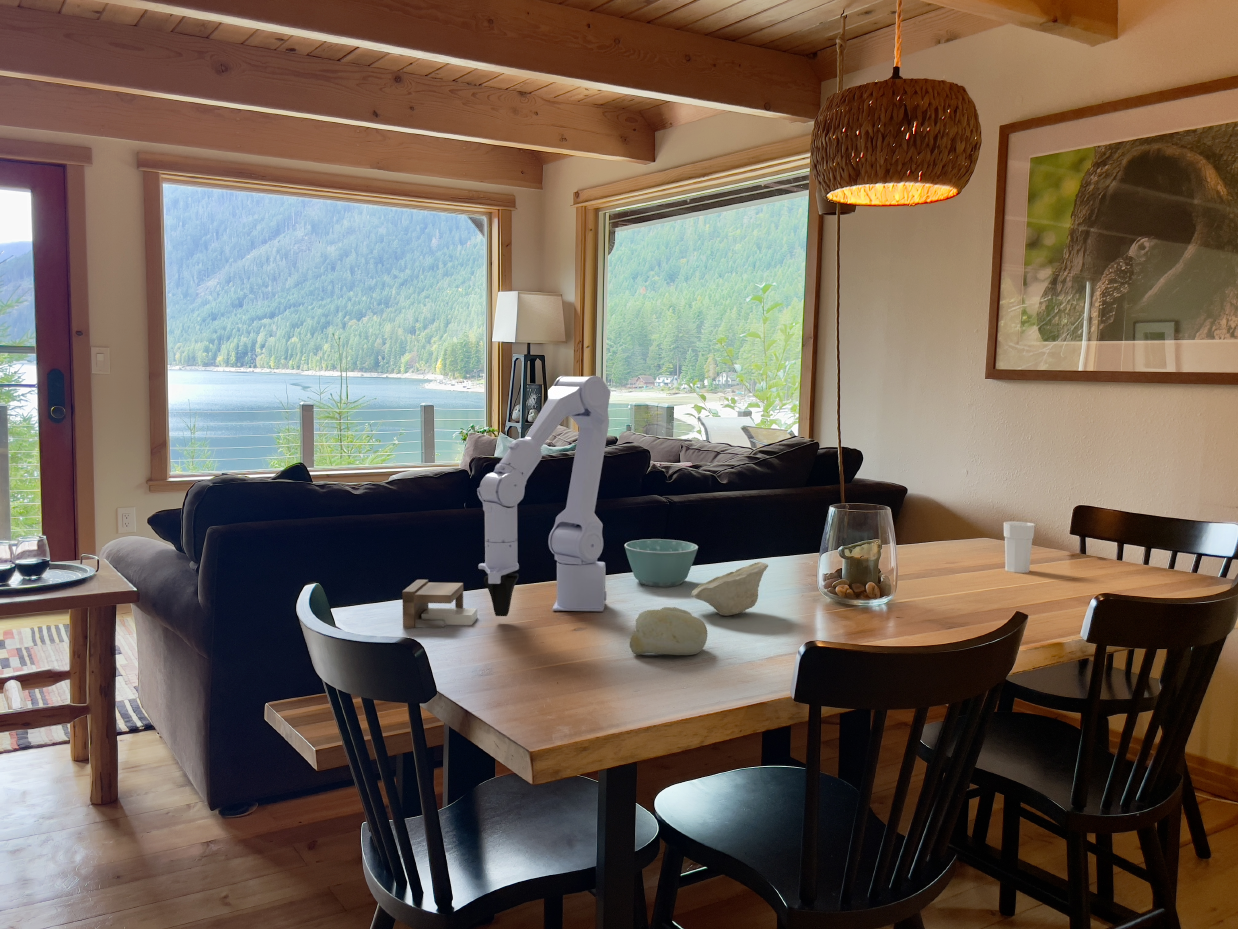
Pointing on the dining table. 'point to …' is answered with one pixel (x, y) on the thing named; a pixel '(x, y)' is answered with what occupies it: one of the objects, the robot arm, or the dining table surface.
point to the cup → (1018, 545)
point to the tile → (452, 615)
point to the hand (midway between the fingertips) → (501, 615)
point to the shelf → (428, 601)
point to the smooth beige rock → (668, 632)
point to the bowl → (660, 561)
